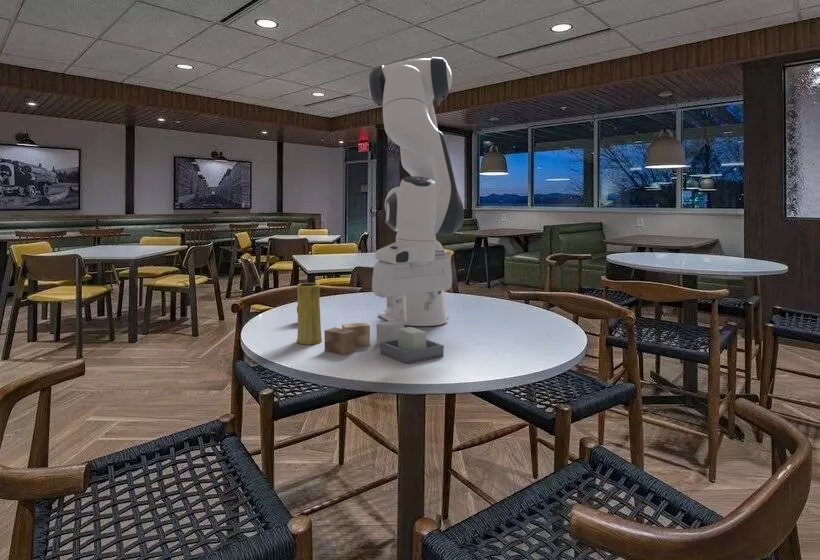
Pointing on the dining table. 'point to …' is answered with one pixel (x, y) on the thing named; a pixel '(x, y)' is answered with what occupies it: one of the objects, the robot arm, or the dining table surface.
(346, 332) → the block walnut
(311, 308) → the vase
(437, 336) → the dining table surface
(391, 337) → the block grey
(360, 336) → the block oak
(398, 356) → the slate dish
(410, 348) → the block sage
